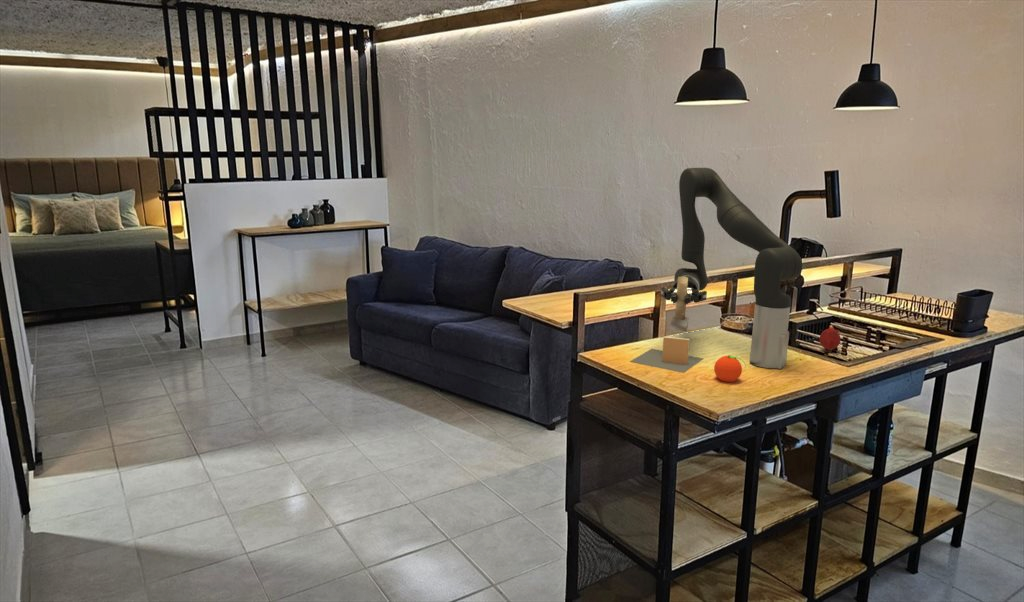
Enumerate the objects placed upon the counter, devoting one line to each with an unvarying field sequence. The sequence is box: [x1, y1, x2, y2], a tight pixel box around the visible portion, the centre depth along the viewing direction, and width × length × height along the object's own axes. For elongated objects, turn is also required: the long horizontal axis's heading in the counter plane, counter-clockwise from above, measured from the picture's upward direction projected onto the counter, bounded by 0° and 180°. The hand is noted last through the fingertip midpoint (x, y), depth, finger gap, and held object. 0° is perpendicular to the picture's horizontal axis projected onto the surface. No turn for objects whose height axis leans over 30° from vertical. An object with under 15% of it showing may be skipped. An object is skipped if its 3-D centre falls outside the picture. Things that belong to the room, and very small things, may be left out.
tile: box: [662, 336, 690, 364], centre depth 188 cm, size 7×1×7 cm, turn 70°
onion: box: [819, 324, 841, 351], centre depth 203 cm, size 6×6×8 cm
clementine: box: [713, 355, 746, 383], centre depth 174 cm, size 8×7×7 cm
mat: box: [629, 348, 705, 374], centre depth 191 cm, size 16×16×1 cm
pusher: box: [670, 277, 689, 332], centre depth 192 cm, size 4×4×15 cm
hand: (680, 300), depth 189 cm, fingers closed on pusher, 2 cm apart
